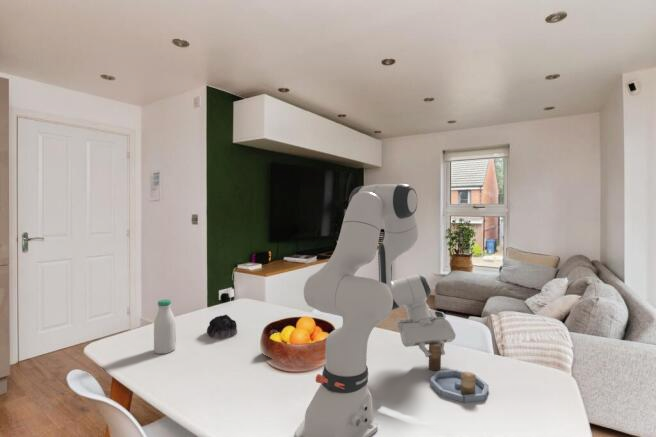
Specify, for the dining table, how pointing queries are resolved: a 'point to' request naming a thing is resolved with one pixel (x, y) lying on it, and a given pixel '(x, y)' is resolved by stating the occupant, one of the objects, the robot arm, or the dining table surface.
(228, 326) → the black rock
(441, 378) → the ring tray
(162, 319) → the milk bottle
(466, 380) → the oak bead
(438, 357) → the walnut bead
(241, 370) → the dining table surface
